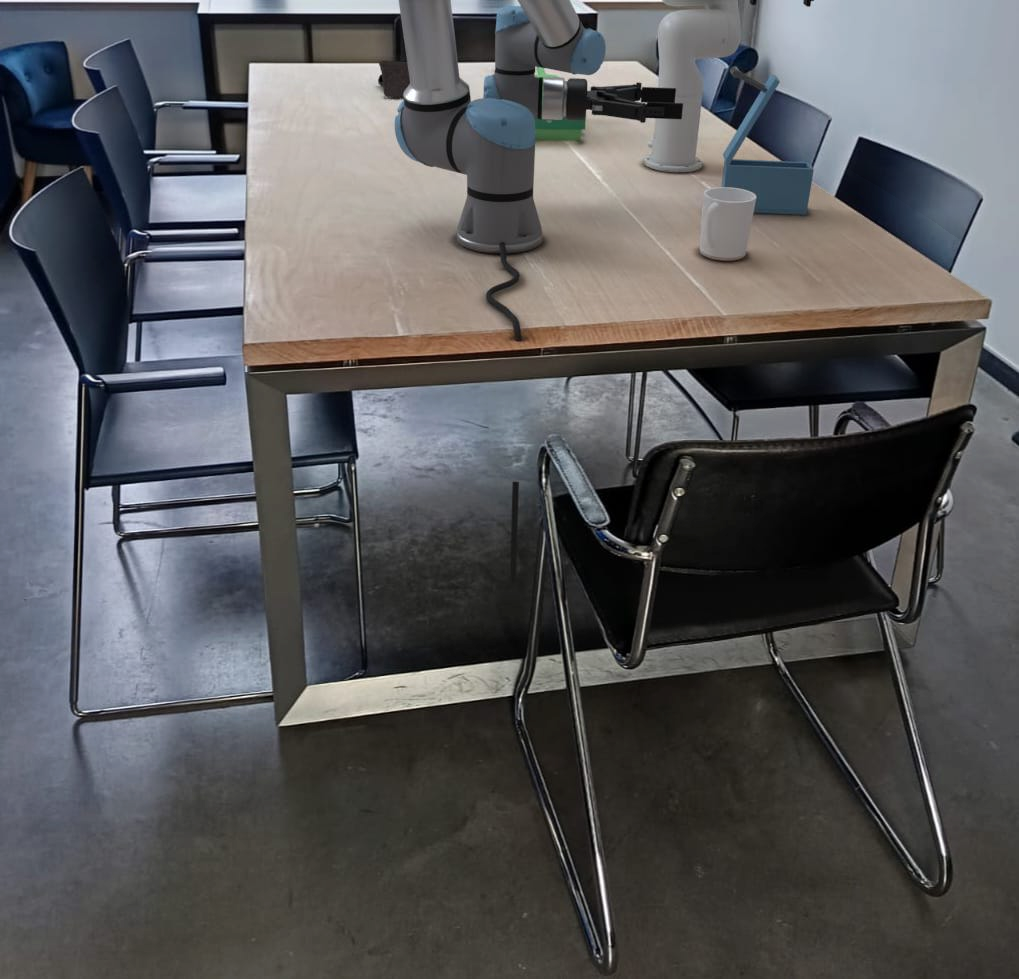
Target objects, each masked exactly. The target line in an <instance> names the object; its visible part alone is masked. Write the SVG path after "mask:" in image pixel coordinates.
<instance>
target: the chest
mask: <svg viewBox="0 0 1019 979" xmlns="http://www.w3.org/2000/svg"><path fill="white" fill-rule="evenodd" d="M814 170H815V169H814V167H813V166H812V164H811V162H810V161H787V160H786V161H785V160H767V159H766V160H765V159H764V160H762V159H761V160H760V159H742V158H741V159H740V158H739V159H738V158H737V159H736V158H733V159H732V161H731V163H730V164H729V163H727V162H725V160H724V162H723V168H722V177H721V184H720V187H730V188H739V189H744V190H747V191H750V192H752V193H754V194H755V195H756V202H755V207H754V213H753V214H776V215H794V216H795V215H798V216H807V214H808V207H809V200H810V196H811V189H812V183H813V177H814Z"/></svg>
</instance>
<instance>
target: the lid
mask: <svg viewBox="0 0 1019 979" xmlns="http://www.w3.org/2000/svg"><path fill="white" fill-rule="evenodd" d="M729 72H730V74H731V76H732V78H734V79H740V80H742V81H743V82H745V83H747V84H749V85H751V86H752V87H754V88H756V89H757V90H759V91H760V92H759V94H758V95H757V97H756V99H755V100H754V102H753V104H752V105H751V107H750V108H749V110H748V112H747V113H746V115H745V117H744V118H743V120H742V121H741V124H740V125H739V127H738V128H737V130H736V131H735V133H734V135H733V137H732V138H731V140H730V141H729V143H728V144H727V147H726V148H725V150H724V151H723V153H722V156H723V159H724V160H725V162H727V163H729V164H730V163H731V161H732V159H735V156H736V155H737V152H738V151H739V150H740V148H741V146H742V145H743V143H744V142H745V140H746V139H747V137H748V135H749V134H750V132H751V130H752V128H753V127H754V125H755V123H756V122H757V121H758V118H759V117H760V115H761V114H762V112H763V110H764V109H765V107H766V106H767V104H768V102H769V101H770V99H771V97H772V96H773V95H774V92H775V91H776V89H777V87H778V86H779V84H780V80H779V78H778V76H777V75H775V74H774V73H771V74H770V75H769V77H768V79H767V81H766V82H765V84H763V83H761V82H760V81H758V80H756V79H755V78H753V77H751V76H749V75H748V74H745V73H744V72H742V71H740V70H739V68H738V66H736V65H735V66H734V65H733V66H732V67H731V68H730V69H729Z"/></svg>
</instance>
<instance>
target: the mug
mask: <svg viewBox="0 0 1019 979" xmlns="http://www.w3.org/2000/svg"><path fill="white" fill-rule="evenodd" d="M755 202H756V195H755V194H754V193H752V192H750V191H747V190H744V189H739V188H730V187H721V186H719V187H711V188H708V189H706V190H704V191H703V194H702V210H701V225H700V240H699V252H700V254H701V255H702V256H704V257H706V258H709V259H711V260H716V261H727V262H728V261H729V262H731V261H736V260H737V261H738V260H741V259H744V257H745V256H746V254H747V249H748V244H749V239H750V234H751V229H752V223H753V218H754V214H755V213H754V207H755Z"/></svg>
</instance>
